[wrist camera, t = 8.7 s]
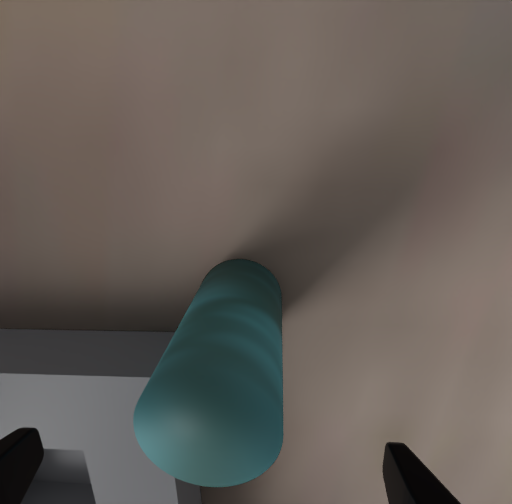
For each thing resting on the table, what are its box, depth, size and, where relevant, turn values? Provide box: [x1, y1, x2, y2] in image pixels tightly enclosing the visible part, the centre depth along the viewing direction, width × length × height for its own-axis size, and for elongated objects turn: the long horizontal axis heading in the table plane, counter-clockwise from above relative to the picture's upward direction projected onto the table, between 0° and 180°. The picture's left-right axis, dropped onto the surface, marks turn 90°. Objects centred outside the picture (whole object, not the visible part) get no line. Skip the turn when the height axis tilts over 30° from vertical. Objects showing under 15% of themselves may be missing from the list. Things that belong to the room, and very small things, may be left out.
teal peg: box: [133, 259, 283, 487], centre depth 13 cm, size 4×4×8 cm
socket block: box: [0, 329, 202, 504], centre depth 18 cm, size 14×14×4 cm
